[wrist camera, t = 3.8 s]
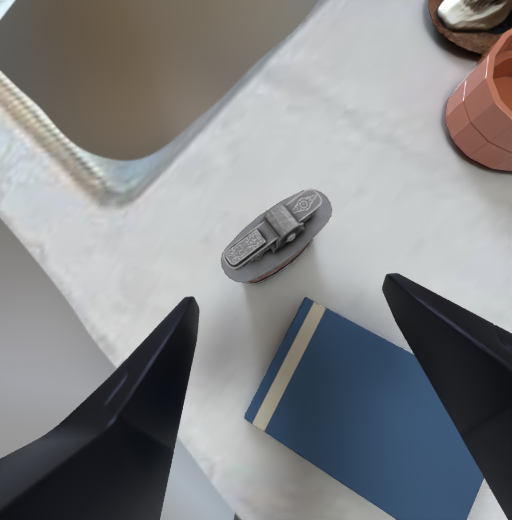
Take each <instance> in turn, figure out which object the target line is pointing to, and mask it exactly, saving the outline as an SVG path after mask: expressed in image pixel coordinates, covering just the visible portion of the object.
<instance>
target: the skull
mask: <svg viewBox="0 0 512 520" xmlns="http://www.w3.org/2000/svg"><path fill="white" fill-rule="evenodd" d="M428 2H429V3H428V4H429V11H430V15H431V18H432V21H433V23H434V25H435V26H436V27H437V28H436V29H438V31H439V32H440V33H442V34H443V35H444V36H445V37H447V39H449V40H450V41H453V42H454V43H456V45H458V46H461V47H463V48H467V50H469V51H470V50H471V51H472V52H473V51H474V52H477V54H478V55H479V53H481V54H482V55H481V56H484V54H485V53H486V52H487V51H488V50H489V49H490V48H491V47H492V46H493V44H494V43H495V42H496V41H497V40H498V39H499V38H500V37H501V35H502V34H503V33H505V32H507V31H508V30H510V29H511V28H512V0H429V1H428ZM472 52H471V53H472Z"/></svg>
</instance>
